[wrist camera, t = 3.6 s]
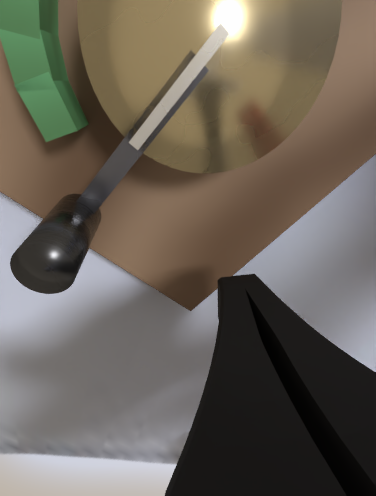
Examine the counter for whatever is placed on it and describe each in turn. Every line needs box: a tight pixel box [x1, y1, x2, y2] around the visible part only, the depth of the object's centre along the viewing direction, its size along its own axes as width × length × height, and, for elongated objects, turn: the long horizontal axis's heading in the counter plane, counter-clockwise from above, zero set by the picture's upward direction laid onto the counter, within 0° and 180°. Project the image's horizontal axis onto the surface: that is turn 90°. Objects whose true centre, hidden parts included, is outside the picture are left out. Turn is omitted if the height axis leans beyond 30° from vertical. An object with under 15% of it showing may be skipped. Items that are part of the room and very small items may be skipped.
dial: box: [10, 0, 342, 294], centre depth 6 cm, size 10×6×3 cm, turn 138°
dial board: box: [0, 0, 376, 311], centre depth 8 cm, size 14×16×3 cm
